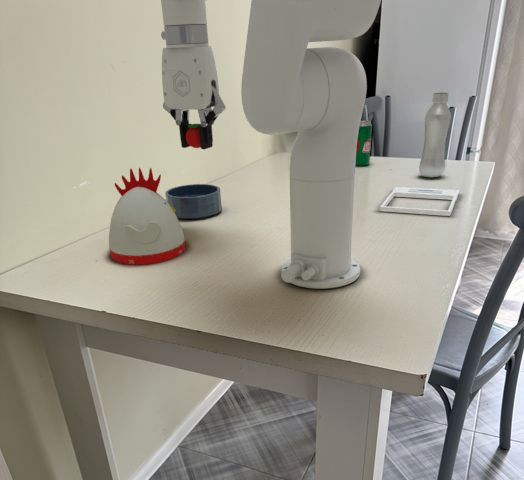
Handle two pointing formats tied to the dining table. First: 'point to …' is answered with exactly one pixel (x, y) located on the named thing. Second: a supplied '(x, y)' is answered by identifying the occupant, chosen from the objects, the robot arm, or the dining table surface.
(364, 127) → the soda can
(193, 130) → the red tomato
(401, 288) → the dining table surface
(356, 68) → the robot arm
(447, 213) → the photo frame
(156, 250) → the kitchen timer
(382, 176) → the dining table surface
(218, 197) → the bowl
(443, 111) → the plastic bottle
